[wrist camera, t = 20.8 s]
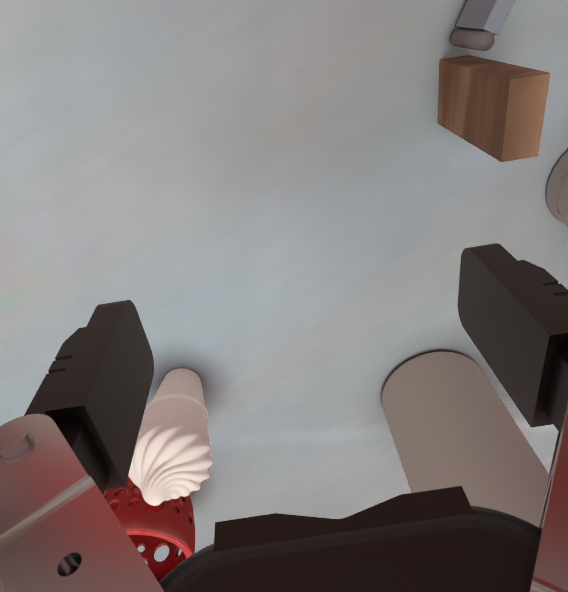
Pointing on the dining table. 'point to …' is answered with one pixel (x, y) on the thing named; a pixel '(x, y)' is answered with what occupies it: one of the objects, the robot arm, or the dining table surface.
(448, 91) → the wooden blocks
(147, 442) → the soft serve ice cream cone
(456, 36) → the gate
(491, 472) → the cylinder vase
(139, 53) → the dining table surface
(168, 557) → the plant pot
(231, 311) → the dining table surface
